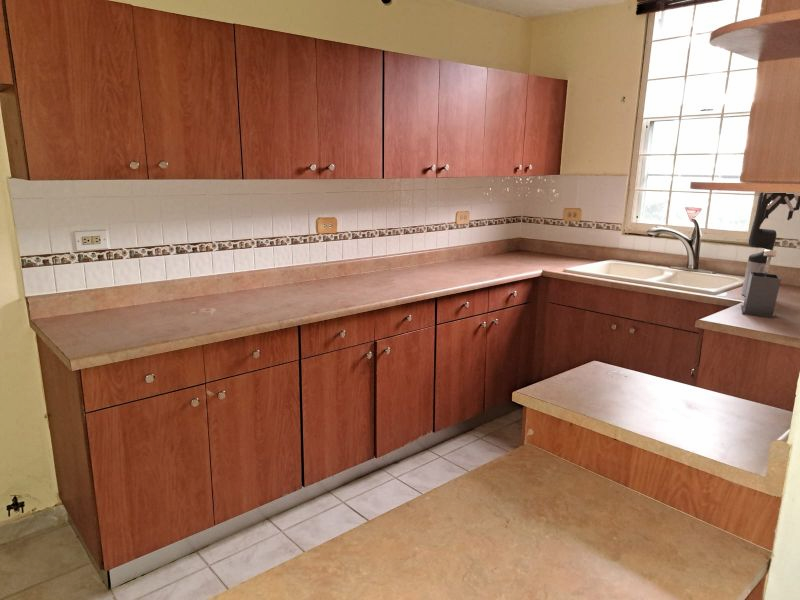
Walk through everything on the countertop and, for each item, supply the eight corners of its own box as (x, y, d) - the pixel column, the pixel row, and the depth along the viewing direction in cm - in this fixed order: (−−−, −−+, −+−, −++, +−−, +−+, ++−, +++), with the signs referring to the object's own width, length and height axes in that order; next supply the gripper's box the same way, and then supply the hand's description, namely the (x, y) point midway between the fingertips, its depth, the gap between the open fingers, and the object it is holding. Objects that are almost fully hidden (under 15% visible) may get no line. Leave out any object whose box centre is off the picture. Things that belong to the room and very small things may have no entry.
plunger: (751, 284, 258) (759, 248, 254) (772, 287, 255) (780, 250, 250) (752, 288, 251) (760, 250, 247) (774, 291, 248) (782, 253, 243)
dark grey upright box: (741, 307, 264) (748, 271, 259) (771, 312, 259) (779, 274, 254) (742, 314, 253) (750, 276, 249) (774, 318, 248) (783, 279, 244)
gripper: (805, 180, 241) (796, 219, 245) (765, 178, 247) (757, 216, 251) (807, 181, 234) (798, 221, 239) (766, 178, 240) (758, 218, 245)
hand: (777, 219), depth 245 cm, fingers open, 7 cm apart
